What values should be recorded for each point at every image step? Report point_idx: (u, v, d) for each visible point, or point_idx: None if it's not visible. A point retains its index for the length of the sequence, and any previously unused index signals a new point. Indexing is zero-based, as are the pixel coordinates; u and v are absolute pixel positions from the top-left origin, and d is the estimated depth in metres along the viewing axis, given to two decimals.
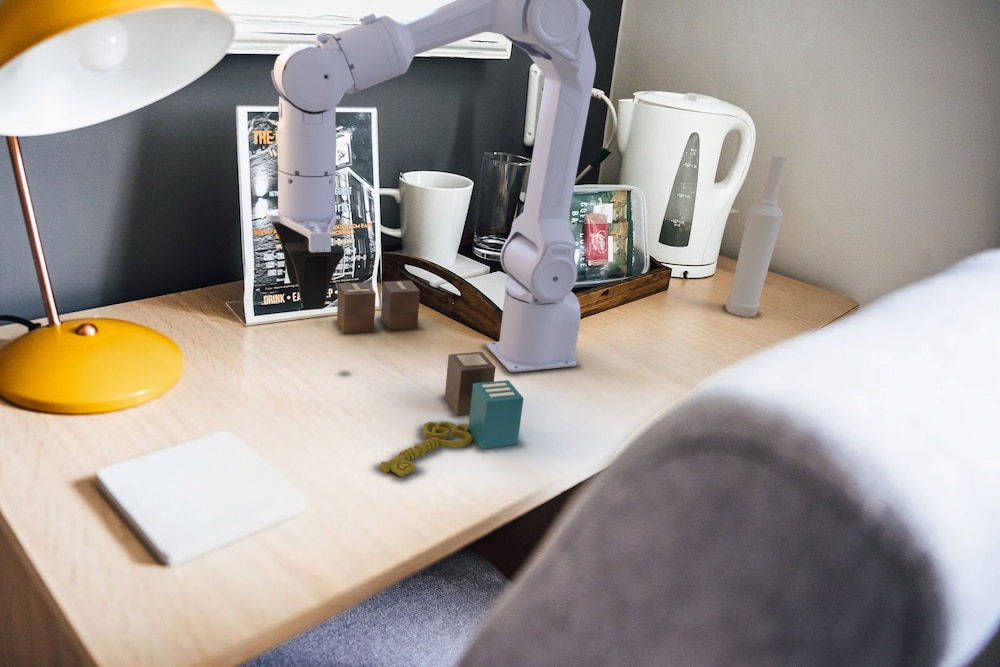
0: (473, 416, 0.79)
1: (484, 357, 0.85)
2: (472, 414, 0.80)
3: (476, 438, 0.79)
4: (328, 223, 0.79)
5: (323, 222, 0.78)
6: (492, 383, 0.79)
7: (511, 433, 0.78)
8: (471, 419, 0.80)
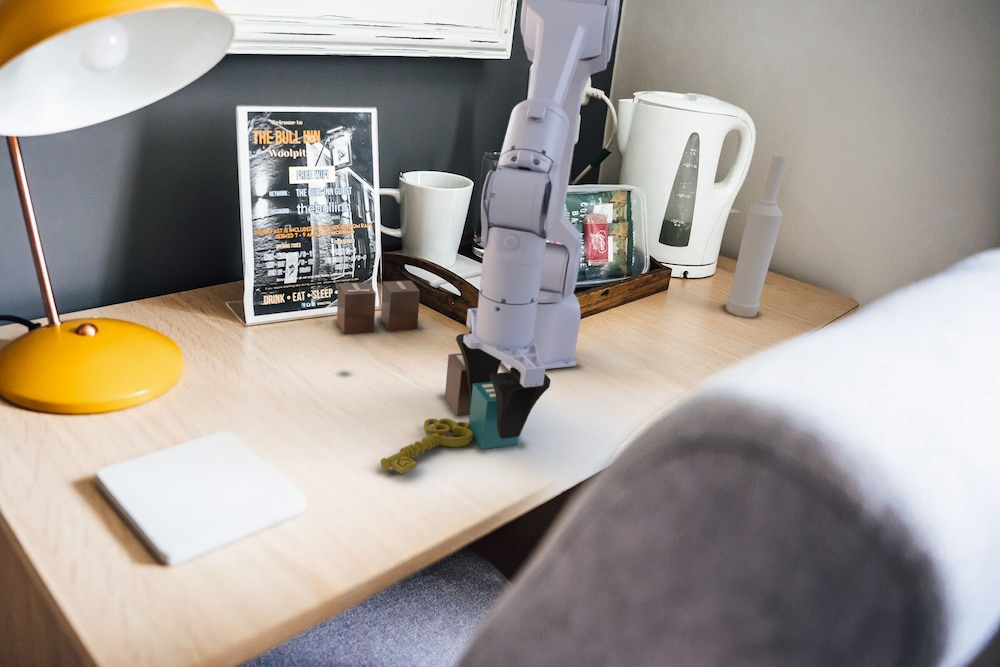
0: (473, 416, 0.79)
1: None
2: (472, 414, 0.80)
3: (476, 438, 0.79)
4: (530, 349, 0.74)
5: (526, 349, 0.74)
6: None
7: None
8: (471, 419, 0.80)
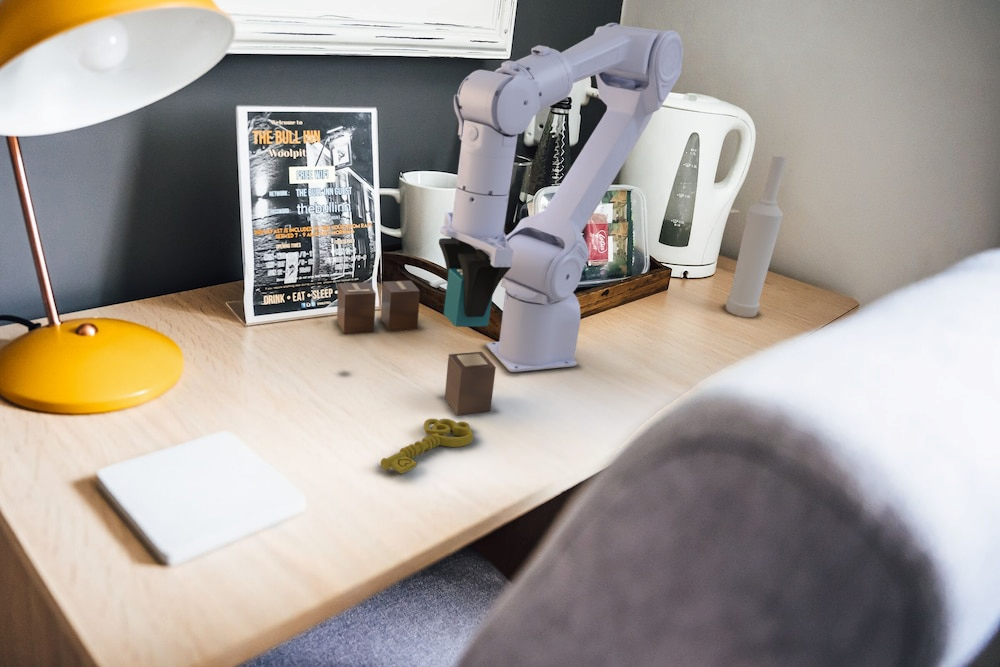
0: (448, 298, 0.87)
1: (484, 357, 0.85)
2: (447, 297, 0.87)
3: (450, 318, 0.86)
4: (501, 240, 0.82)
5: (497, 239, 0.82)
6: None
7: None
8: (446, 303, 0.87)
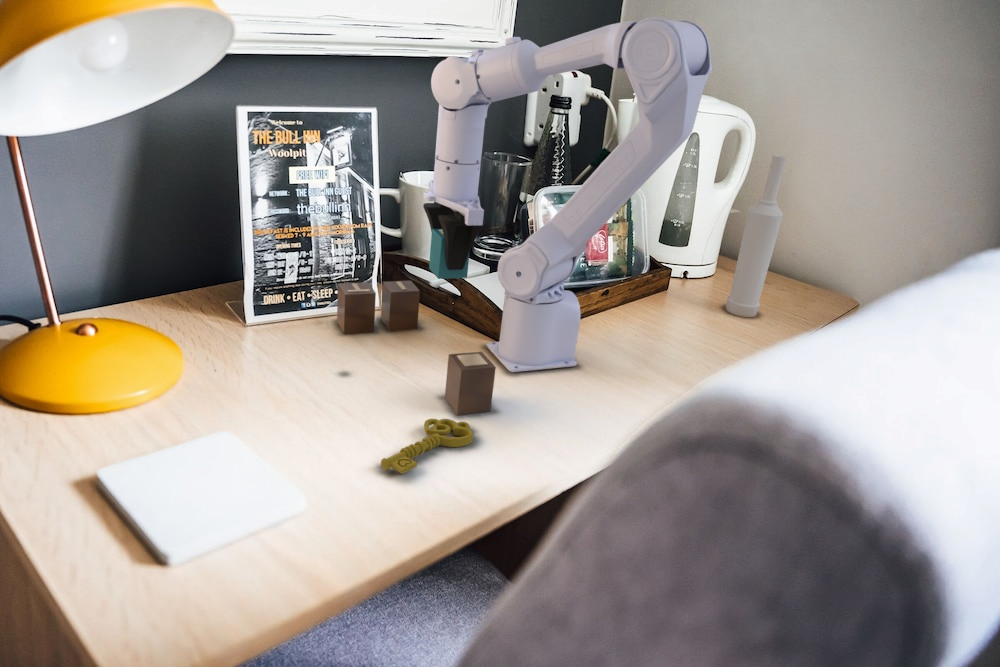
0: (432, 255, 1.01)
1: (484, 357, 0.85)
2: (431, 254, 1.01)
3: (434, 272, 1.00)
4: (475, 202, 0.96)
5: (471, 202, 0.96)
6: None
7: None
8: (431, 258, 1.01)
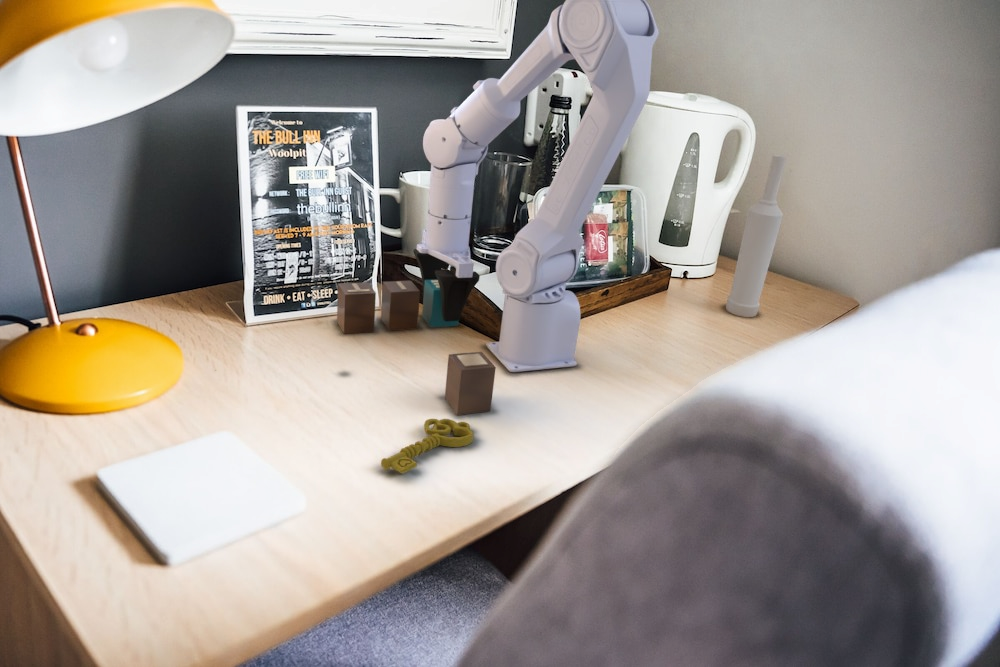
0: (425, 304, 1.06)
1: (484, 357, 0.85)
2: (424, 303, 1.06)
3: (427, 320, 1.06)
4: (465, 254, 1.01)
5: (462, 253, 1.01)
6: None
7: None
8: (424, 307, 1.07)
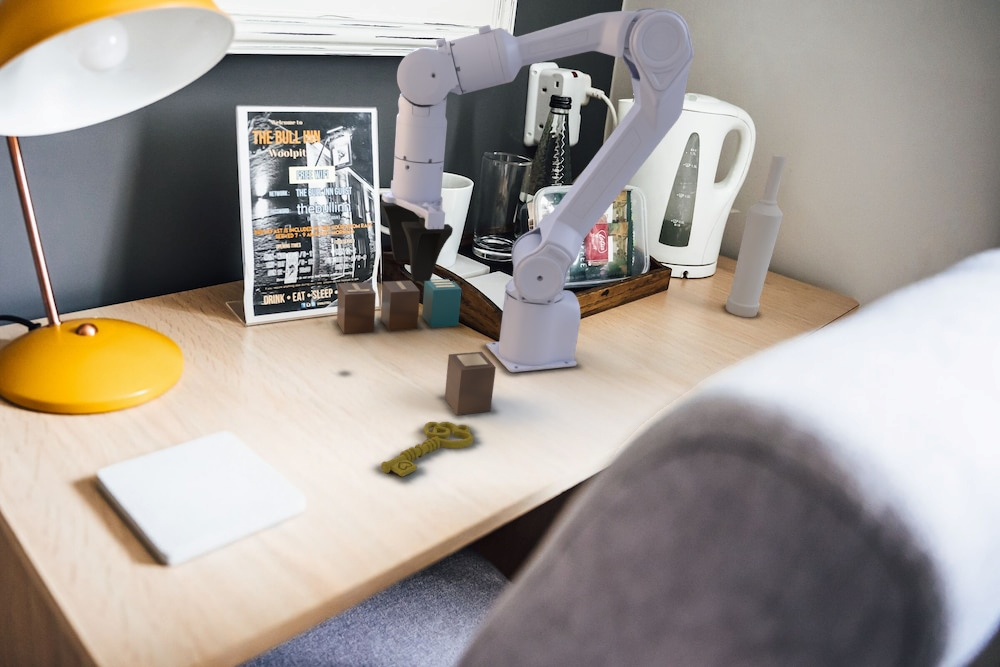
0: (425, 304, 1.06)
1: (484, 357, 0.85)
2: (424, 303, 1.06)
3: (427, 321, 1.06)
4: (437, 204, 0.89)
5: (433, 203, 0.89)
6: (439, 280, 1.06)
7: (453, 316, 1.05)
8: (424, 307, 1.07)
